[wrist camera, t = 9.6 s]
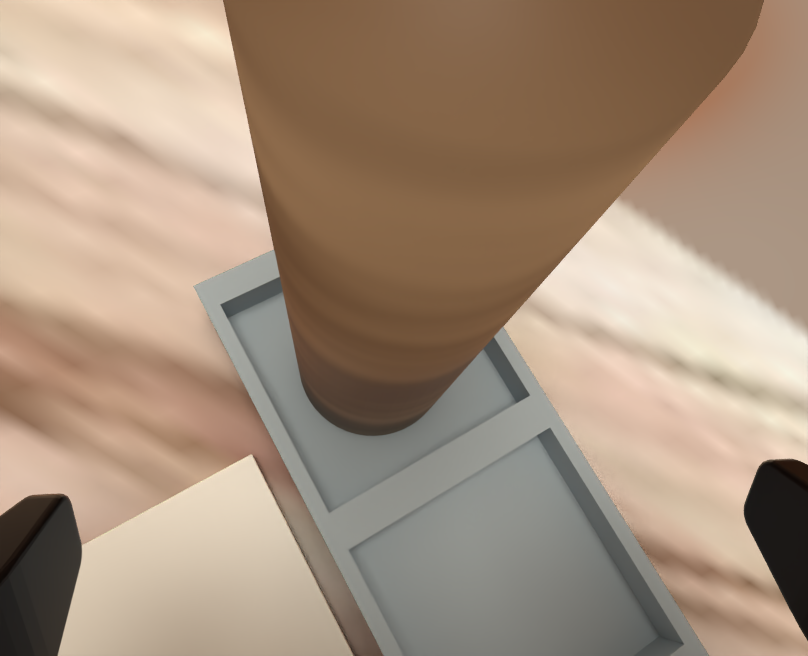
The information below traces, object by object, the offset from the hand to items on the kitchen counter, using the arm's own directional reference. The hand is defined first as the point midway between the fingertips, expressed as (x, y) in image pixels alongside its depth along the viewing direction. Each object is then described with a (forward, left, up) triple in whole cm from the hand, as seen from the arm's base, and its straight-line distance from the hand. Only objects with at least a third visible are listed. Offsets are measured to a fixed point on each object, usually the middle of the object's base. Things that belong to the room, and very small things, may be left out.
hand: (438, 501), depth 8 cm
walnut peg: (+4, -2, -9) cm, 10 cm away
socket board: (0, -2, -10) cm, 11 cm away
